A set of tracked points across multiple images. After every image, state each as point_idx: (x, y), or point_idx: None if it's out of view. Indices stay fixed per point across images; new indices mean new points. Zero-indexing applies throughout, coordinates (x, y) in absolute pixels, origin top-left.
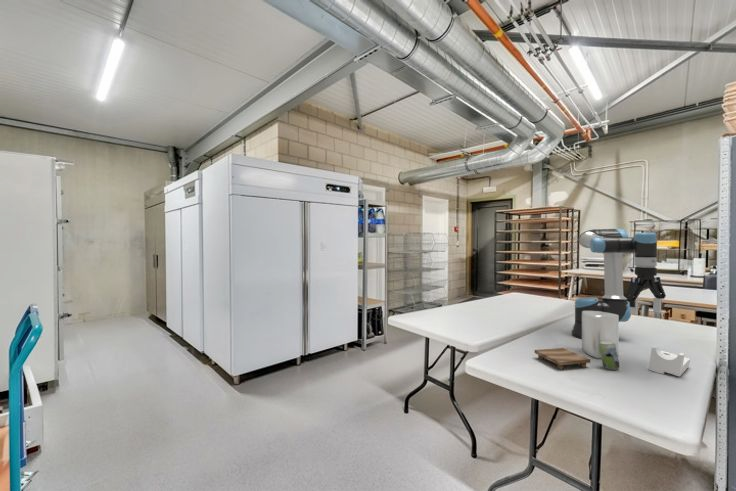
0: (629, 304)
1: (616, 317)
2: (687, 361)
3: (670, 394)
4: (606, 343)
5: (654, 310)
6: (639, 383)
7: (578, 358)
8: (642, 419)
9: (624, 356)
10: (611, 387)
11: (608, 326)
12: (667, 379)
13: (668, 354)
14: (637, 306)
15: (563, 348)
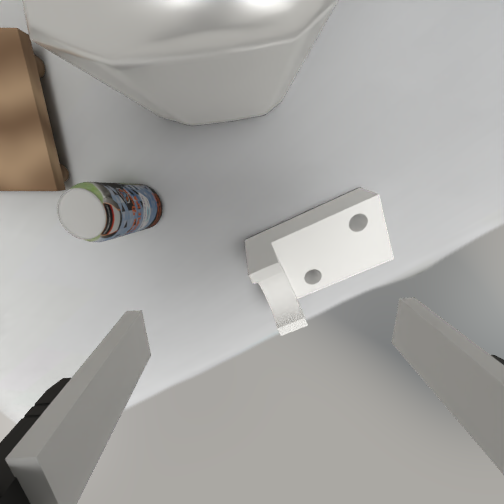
0: (36, 402)
1: (271, 45)
2: (357, 273)
3: (159, 347)
4: (73, 221)
5: (407, 315)
6: (139, 297)
7: (15, 174)
8: (19, 400)
9: (288, 120)
10: (50, 302)
11: (182, 85)
12: (232, 293)
13: (366, 222)
14: (114, 425)
15: (14, 41)
